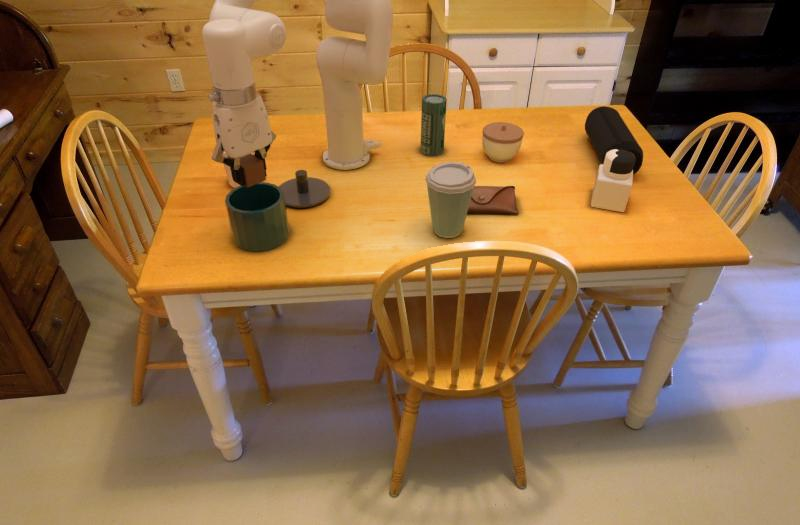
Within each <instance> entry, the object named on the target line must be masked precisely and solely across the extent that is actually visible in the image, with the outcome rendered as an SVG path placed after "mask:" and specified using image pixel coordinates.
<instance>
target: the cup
mask: <svg viewBox="0 0 800 525" xmlns="http://www.w3.org/2000/svg"><path fill="white" fill-rule="evenodd" d="M224 203H225V209H226V212H227V217H228V221H229V228H230V231H231V235H232V239H233V242H234V244H235V245H236V246H237V247H238V248H240V249H241V250H244V251H247V252H253V253H260V252H261V253H262V252H267V251H272V250H274V249H276V248H278V247H281V246H282V245H283V244H284V243H286V241H287V240H288V238H289V236H290V228H289V220H288V213H287V205H285V198H284V193H283V191H282V189H281V188H280V187H279V186H278V185H276V184H274V183H270V182H267V181H266V182H265V181H262V182H260V183H258V184H255V185H253V186H251V187H246V186H243V187H242V186H238V187H236V188H233V189H231V190H230V191H229V192H228V193H227V194H226V195H225V199H224Z"/></svg>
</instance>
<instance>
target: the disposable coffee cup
mask: <svg viewBox="0 0 800 525" xmlns="http://www.w3.org/2000/svg"><path fill="white" fill-rule="evenodd" d="M425 182H426V188H427V196H428V202H429V210H430V211H429V212H430V219H431V225H432V230H433V232H434V234H435V235H437V236H438V237H440V238H444V239H453V238H456V237H458V236H460V235H461V233H462V231H463V230H464V227H465V222H466V218H467V215H468V214H467V211H468V207H469V203H470V199H471V195H472V192H473V188H474V186H476V184H477V178H476V176H475V172H474V170H473V168H472V167H471V166H470V165H468V164H466V163H464V162H460V161H447V162H441V163H439V164H437V165H434V166H433V167H431V169H430V170H429V171H428V172H427V173H426V175H425Z"/></svg>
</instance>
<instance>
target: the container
mask: <svg viewBox="0 0 800 525" xmlns="http://www.w3.org/2000/svg"><path fill="white" fill-rule="evenodd" d="M635 160H636V158H635V156H634V155H633V154H632V153H631V152H628V151H626V150H622V149H614V150H610V151H608V152H607V153H606V156H605V160H604V164H601V163H600V164H599V165H598V169H597V173H596V177H595V179H594V180H595V181H594V185H593V188H592V193H591V201H590V207H592V208H595V209H596V208H597V209H601V210H602V209H603V210H607V211H614V212H618V213H624V212H625V211H626V207H627V205H628V200H629V199H630V195H631V193H632V192H631V191H632V188H633V184H634V183H633V182H634V175H633V167H634V164H635Z"/></svg>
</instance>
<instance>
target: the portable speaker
mask: <svg viewBox="0 0 800 525" xmlns="http://www.w3.org/2000/svg"><path fill="white" fill-rule="evenodd" d="M584 131H585V134H586V135H587V137H588V140H589V141H590V144H591V146H592V147H593V150H594V152H595V154H596V155H597V157H598V160H599V162H600V164H604V160H605V156H606V153H607V152H608V151H610V150H614V149H622V150H626V151H628V152H631V153H632V154H633V155H634V156H635V158H636V160H635V164H634V167H633V176H634V175H636V174H637V173H638V172H639V171H640V170H641V168H642V166H643V162H644V151H643V148H642V147H641V145H640V144H639V142H638V141H637V140H636V138H635V137H634V135H633V133H632V131H631V130H630V129H629V127H628V126H627V124H626V122H625V121H624V119H623V117H622V116H621V114H620V113H619V111H618V110H617V109H616V108H613V107H610V106H607V105H604V106H603V105H602V106H598V107H594V108H593V109H592V110H591V111H590V112H589V113H588V114H587V116H586V119H585V122H584Z"/></svg>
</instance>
